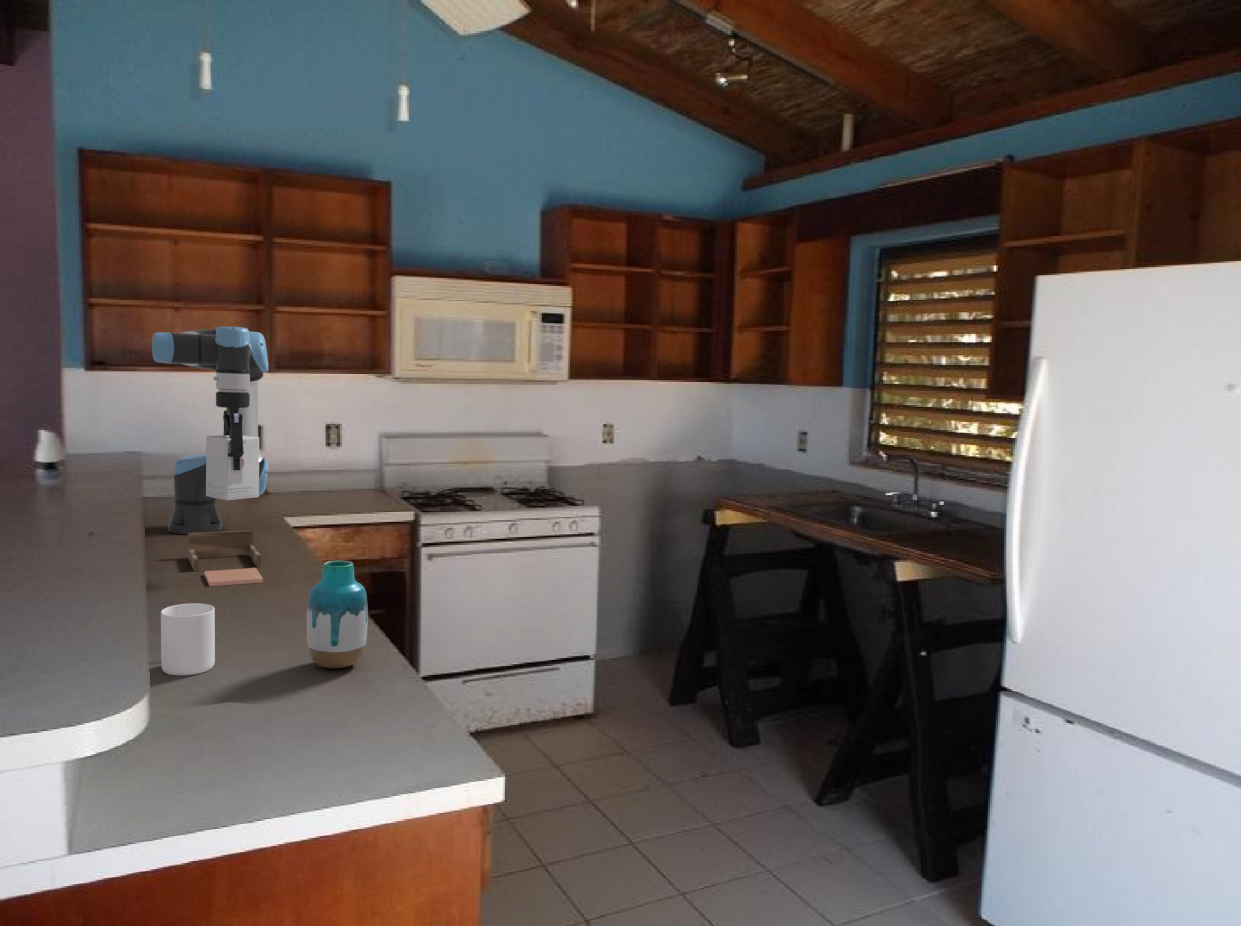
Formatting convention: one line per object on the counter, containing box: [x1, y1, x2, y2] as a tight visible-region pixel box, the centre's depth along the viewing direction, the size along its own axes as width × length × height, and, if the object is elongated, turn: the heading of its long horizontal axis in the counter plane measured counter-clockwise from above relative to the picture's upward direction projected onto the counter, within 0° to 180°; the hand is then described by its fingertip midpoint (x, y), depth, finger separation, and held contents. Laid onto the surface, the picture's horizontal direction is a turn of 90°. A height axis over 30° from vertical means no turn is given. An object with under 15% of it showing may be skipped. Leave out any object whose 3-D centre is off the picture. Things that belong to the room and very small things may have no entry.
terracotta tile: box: [204, 567, 264, 587], centre depth 225 cm, size 12×12×1 cm
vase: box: [306, 559, 369, 669], centre depth 166 cm, size 11×11×19 cm
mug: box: [160, 602, 216, 677], centre depth 163 cm, size 9×12×11 cm
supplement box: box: [205, 435, 260, 501], centre depth 223 cm, size 9×9×15 cm
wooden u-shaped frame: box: [187, 529, 262, 572], centre depth 242 cm, size 16×16×7 cm
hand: (232, 480), depth 223 cm, fingers closed on supplement box, 11 cm apart
